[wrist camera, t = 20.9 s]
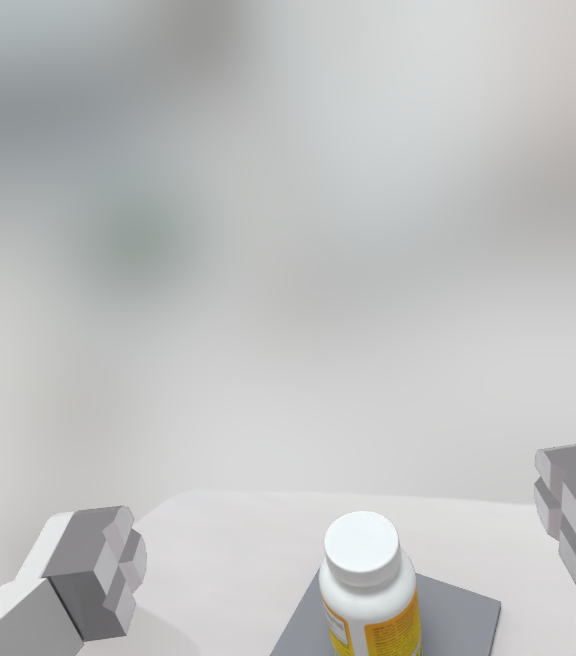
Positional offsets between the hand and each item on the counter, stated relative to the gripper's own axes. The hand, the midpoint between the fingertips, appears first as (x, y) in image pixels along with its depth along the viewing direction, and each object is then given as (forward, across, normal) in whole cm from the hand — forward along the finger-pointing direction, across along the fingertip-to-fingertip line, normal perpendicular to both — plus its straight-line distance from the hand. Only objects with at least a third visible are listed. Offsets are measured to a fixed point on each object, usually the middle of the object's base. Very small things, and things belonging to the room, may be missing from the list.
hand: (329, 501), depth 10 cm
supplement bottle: (+12, 0, +24) cm, 27 cm away
